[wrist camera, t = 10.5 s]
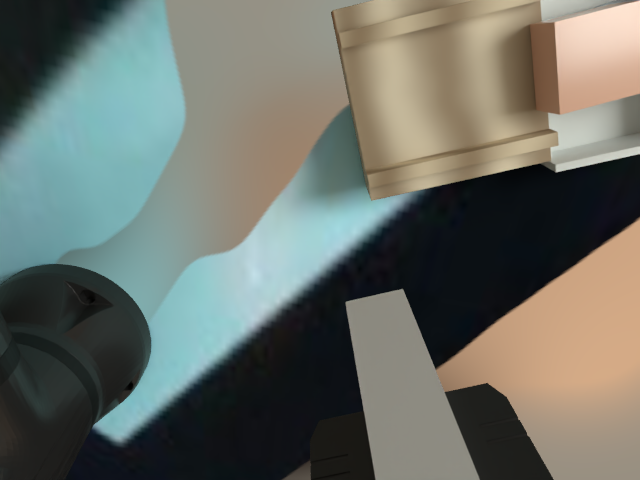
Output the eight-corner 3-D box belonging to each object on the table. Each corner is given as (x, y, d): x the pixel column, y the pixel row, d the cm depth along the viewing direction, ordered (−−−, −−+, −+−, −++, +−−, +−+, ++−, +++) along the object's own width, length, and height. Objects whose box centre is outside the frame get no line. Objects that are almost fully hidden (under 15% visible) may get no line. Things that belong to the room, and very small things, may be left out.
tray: (535, 160, 44) (556, 172, 41) (518, -50, 39) (540, -59, 35) (656, 133, 44) (688, 143, 40) (657, -85, 38) (695, -97, 34)
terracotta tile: (536, 110, 39) (560, 114, 36) (529, 24, 37) (554, 22, 34) (611, 90, 39) (641, 93, 37) (609, 4, 37) (640, 0, 34)
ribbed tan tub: (366, 186, 45) (373, 206, 40) (331, 12, 40) (334, 9, 35) (530, 149, 44) (559, 165, 39) (516, -34, 39) (546, -44, 34)
